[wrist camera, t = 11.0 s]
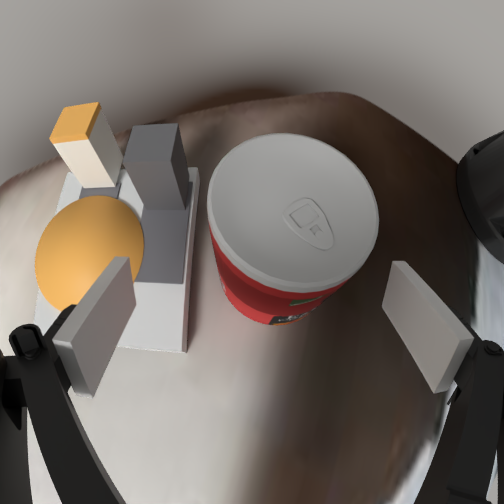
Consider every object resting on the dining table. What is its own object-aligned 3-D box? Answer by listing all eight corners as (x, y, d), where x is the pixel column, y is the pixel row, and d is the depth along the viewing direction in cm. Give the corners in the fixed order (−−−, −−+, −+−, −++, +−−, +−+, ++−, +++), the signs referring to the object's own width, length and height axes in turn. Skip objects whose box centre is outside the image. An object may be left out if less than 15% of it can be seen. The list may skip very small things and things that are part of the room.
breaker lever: (123, 157, 24) (98, 102, 18) (115, 187, 23) (85, 133, 17) (93, 159, 24) (64, 107, 18) (83, 188, 23) (49, 138, 17)
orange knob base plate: (200, 181, 26) (188, 112, 19) (186, 355, 21) (157, 347, 14) (69, 184, 26) (29, 130, 18) (38, 336, 21) (-28, 317, 13)
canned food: (281, 348, 22) (319, 329, 12) (197, 278, 23) (166, 205, 13) (342, 270, 24) (407, 198, 14) (263, 208, 26) (276, 109, 15)
